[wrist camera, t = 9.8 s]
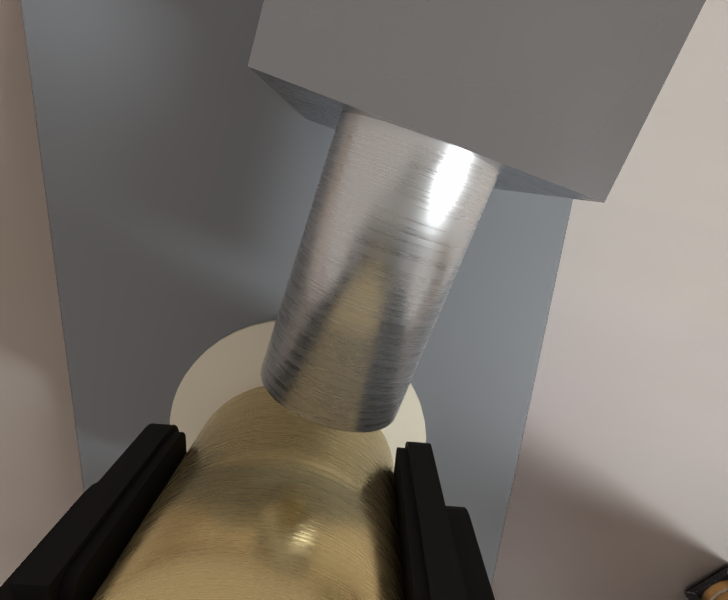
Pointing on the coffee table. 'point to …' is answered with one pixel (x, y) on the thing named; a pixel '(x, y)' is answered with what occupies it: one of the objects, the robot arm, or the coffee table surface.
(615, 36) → the grey block on rod
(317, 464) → the tan rounded cylinder
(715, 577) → the ammunition clip
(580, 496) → the coffee table surface
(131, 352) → the shaft rig
